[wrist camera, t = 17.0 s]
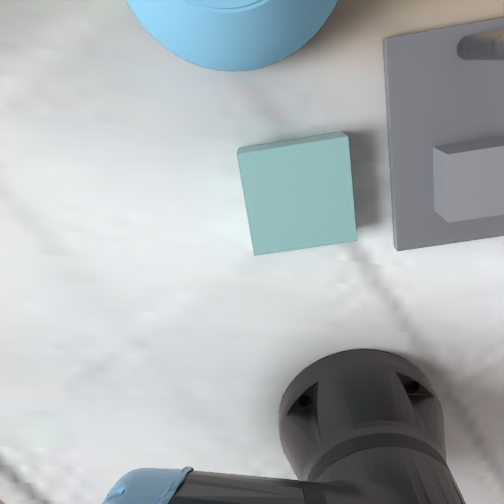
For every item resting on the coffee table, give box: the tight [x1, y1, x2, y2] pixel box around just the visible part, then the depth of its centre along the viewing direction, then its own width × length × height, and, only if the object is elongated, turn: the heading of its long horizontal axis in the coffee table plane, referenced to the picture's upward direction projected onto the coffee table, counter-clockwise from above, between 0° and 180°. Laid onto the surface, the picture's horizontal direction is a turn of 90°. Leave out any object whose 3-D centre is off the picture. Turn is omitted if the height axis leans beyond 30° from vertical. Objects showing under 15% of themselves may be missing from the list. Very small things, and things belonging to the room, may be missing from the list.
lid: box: [237, 131, 357, 256], centre depth 37 cm, size 8×8×3 cm
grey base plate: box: [383, 17, 504, 251], centre depth 34 cm, size 16×11×4 cm
